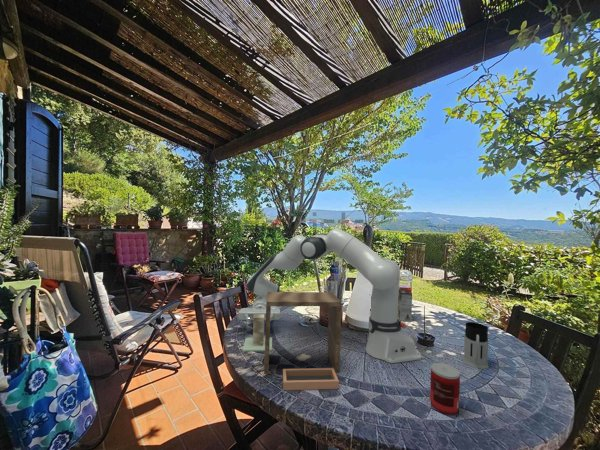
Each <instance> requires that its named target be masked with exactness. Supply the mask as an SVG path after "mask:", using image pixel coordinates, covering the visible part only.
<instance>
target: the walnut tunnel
mask: <svg viewBox="0 0 600 450" xmlns="http://www.w3.org/2000/svg"><path fill="white" fill-rule="evenodd" d="M271 306H278V307H328V328H327V330H328V331H327V333H328V334H327V356H328V357H327V358H328V359H329V360H330V364H331V366H332V368H334V370H335V373H336V374H338V373H340V360H341V359H340V358H341V353H340V352H341V329H342V327H341V325H342V301H341V299H339V297H338V296H337V295H336V294H335V293H334V292H332V291H331V292H325V291H324V292H320V291H318V292H317V291H312V292H311V291H307V292H306V291H280V292H268V293H267V302H266V320H265V330H264V338H265V351H264V365H263V366H264V367H263V369H264V370H263V375H269V370H270V368H269V367H270V351H269V345H270V338H271V322H270V316H271Z"/></svg>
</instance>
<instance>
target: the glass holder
mask: <svg viewBox="0 0 600 450" xmlns="http://www.w3.org/2000/svg"><path fill="white" fill-rule="evenodd" d="M464 331H465V332H464V348H463V349H464V350H463V358H462V361H463V362H464V364H466V365H468V366H470V367H473V368H477V369H483V370H486V369H488V368H490V367H489V364H488V358H489V357H488V356H489V354H488V351H489V338H488V336H489V335H488V334H489V327H488V326H487V325H485V324H482V323H479V322H472V321H471V322H470V321H469V322H465V330H464Z"/></svg>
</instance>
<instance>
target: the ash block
mask: <svg viewBox="0 0 600 450" xmlns="http://www.w3.org/2000/svg"><path fill="white" fill-rule="evenodd" d="M264 315H265V314H254V319H253V320H252V321H253V324H252V325H253V327H252V338H253V346H263V342H264V338H265V320H264Z"/></svg>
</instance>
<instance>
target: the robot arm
mask: <svg viewBox="0 0 600 450" xmlns="http://www.w3.org/2000/svg"><path fill="white" fill-rule="evenodd" d="M332 252H333V253H334V254H335V255H337V256H338V257H340V258H342V260H345V261H346V262H347V263H348V264H349V265H350V266H352V267H353V268H355V269H356V270H357V271H358V272H359V273H360V274H361V275H362V276H363V278H365V279H366V280H367V281H368V282H370V284H371V286H372V290H371V295H370V296H371V309H370V312H369V314H370V315H369V318H368V337H367V342H366V345H365V348H364V350H365V352H366V353H367V355H369V356H371V357H373V358H375V359H379V360H383V361H384V362H387V363H390V364H396V363H403V362H404V363H405V362H412V361H419V360H422V354H421V352H420V351H419V350H418V349H417V348H416V344H415V341H414V339H413V338H412V336H410V335H409V334H408V333H407V332H405V330H403V329H406V328H407V324H406V323H404V321H400V319H399V318H398V295H399V290H400V278H401V270H400V266H399V265H398V263H396V261H394V260H392V259H388V258H386V259H384V258H382V257H381V256H380V255H379V254H377V253H376V252H375V251H374V250H373V249H372V248H371V247H370V246H368V245H367V244H366V243H364V242H362V241H361V240H360V239H358V238H357V237H355V236H353V235H352V234H350V233H349V232H347V231H344V230H343V229H341V228H338V227H337V228H336V227H335V228H332V229H331V230H329V232H328V233H327V234H325V233H320V234H315V235H312V236H308V237H306V236H304V235H301V234H297V235H295V236H293V238H292V239H291V240H290V241H289V242H287V244H286V245H285V247H284V248H283V250H282V251H281V252H279V253H274V254H271V256H269V257H268V259H267V260H266V261H265V262H264V263H262V265H261V266H260V267H259V268H258V269H257V270H256V271H255V272H254V273H253V274H252V275H250V277H248V279H247V281H246V284H245V286H246V290H247V291H248V292H249V293H252V294H255V295H256V296H255V298H254V300H253V302H252V306H251V307H243V308H240V309H239V310H238V312H237V319H238V320H240V321H246V322H248V323H249V322H251V321H253V319H254V314H265V315H264V321H266V302H267V293H268V292H281V289H280V286H279V285H278V284H277V283H275V282H272V281H270V279H269V280H268V279H267V278H265V277H264V275H265V274H267V272H269V270H272V269H273V270H274V269H276V270H282V271H294V270H295V269H297V268H299V266H300V265H301V264H302V262H303V260H304V259H307V260H309V261H310V260H311V261H312V260H313V261H314V260H318V259H321V258H324V257H326V256H328V255H330V254H331V253H332ZM281 314H282V313H281V309H280V307H279V306H271V316H270V323H271V321H279V320H281Z"/></svg>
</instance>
